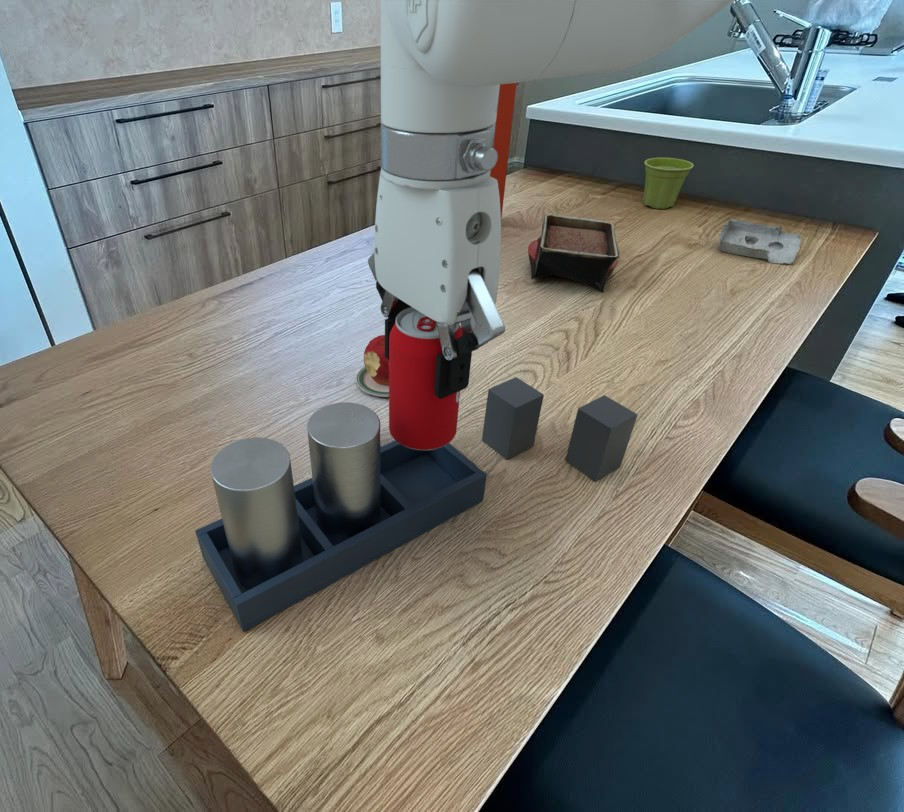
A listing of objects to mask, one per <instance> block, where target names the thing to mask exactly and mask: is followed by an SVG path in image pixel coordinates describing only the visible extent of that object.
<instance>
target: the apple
mask: <svg viewBox="0 0 904 812" xmlns="http://www.w3.org/2000/svg"><path fill="white" fill-rule="evenodd" d="M363 365H364V366H363V367H361V368H360V369H359V370H358V372H357V374H356V375H355V383H356V385H357V386H358V388H359V389H361V391H363V392H364V393H366V394H369V395H371V396H374V397H381V398H389V360H388V359H387V358H385V334H381V335H377V336H376V337H375V336H374V337H373V338H372V339H371V340H370V341H369V342H368V344H367V345H366V347H365V349H364V352H363Z"/></svg>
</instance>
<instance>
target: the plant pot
mask: <svg viewBox="0 0 904 812" xmlns="http://www.w3.org/2000/svg"><path fill="white" fill-rule="evenodd" d="M643 164H644V166H645V180H644V191H643V199H642V204H643V205H644V206H645V207H647V206H649V207H651V209H657V210H658V209H659V210H666V209H668V208H673V207H674V205H675V202H677V201H676V200H677V198H678V195H679V194H680V191H681V190H682V186H683V185H684V182H685V180H686V177H687V176H688V175H689V174H690V172H691V170H692V169H693V168H694V166H695V165H694V163H693V162H691V161H688V160H685V159H682V158H681V159H680V158H674V157H651V158H647V159H645V161H644V163H643Z"/></svg>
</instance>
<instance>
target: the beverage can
mask: <svg viewBox="0 0 904 812" xmlns="http://www.w3.org/2000/svg"><path fill="white" fill-rule="evenodd" d="M452 326H453V331H454V336H455V340H456V339H458V338H459V337H461V336H463V334H462V329H461V323H457V324H454V325H452ZM441 353H443V352H442V348H441V343H440V338H439V333H438V328H437V323H436V321H434V320H433V319H431V318H429V317H428V316H426V315H424V314H423V313H421V312H419V311H418V310H416V309H414V308H413V307H410V308H407V309H405V310H403V311H401V312H400V313H399V314H398V315H397V317H396V322H395V324H394V326H393V328H392V330H391V332H390V336H389V397H388V430H389V434H390V436H391V437H392V439H393V440H394V441H395V440H396V441H397V442H398V443H400V444H401V445H403V446H405V447H408V448H410V449H415V450H434V449H437V448H440V447H443V446H445V445H447V444H448V443H451V442H452V441H453V440H454V438H455V437H456V435H457V431H458V430H457V429H458V421H459V420H458V419H459V418H458V417H459V407H460V396H461V391H459V392H456V393H454V394H452V395H449V396H447V397H445V398H442V399H439V398H438V397H436V396H435V395H434V385H435V369H436V357H437V355H439V354H441Z"/></svg>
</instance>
